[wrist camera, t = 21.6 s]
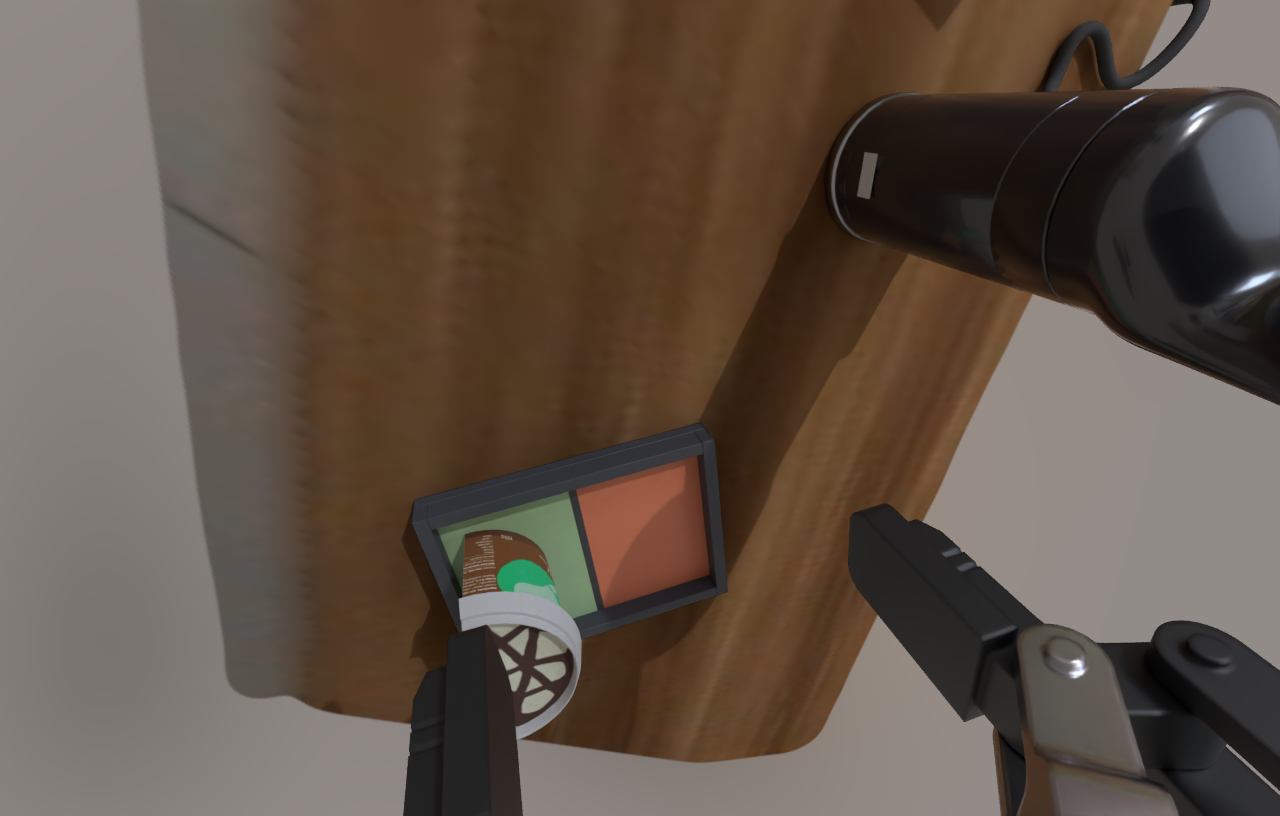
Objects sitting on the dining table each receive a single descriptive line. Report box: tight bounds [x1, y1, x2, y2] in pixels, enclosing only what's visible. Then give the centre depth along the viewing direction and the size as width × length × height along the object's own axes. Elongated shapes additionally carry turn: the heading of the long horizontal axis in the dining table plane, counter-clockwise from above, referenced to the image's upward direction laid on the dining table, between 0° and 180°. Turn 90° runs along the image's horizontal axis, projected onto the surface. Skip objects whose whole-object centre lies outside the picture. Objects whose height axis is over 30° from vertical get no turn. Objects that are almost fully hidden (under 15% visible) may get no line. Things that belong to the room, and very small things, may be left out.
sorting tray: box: [412, 423, 728, 640], centre depth 46 cm, size 22×16×3 cm
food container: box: [459, 530, 581, 740], centre depth 41 cm, size 12×6×10 cm, turn 10°
